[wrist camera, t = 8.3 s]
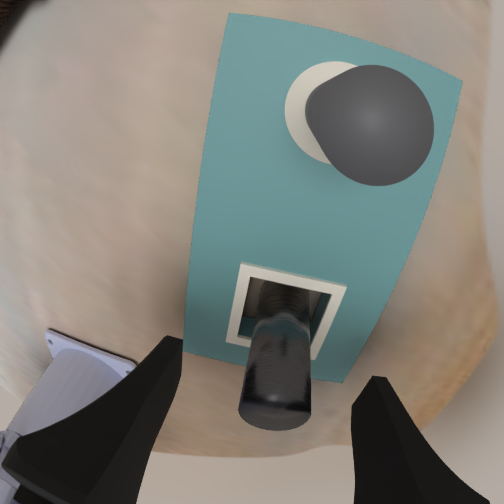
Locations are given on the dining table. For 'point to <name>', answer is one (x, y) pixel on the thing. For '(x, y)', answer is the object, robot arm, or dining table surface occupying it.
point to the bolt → (6, 9)
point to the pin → (278, 360)
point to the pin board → (311, 182)
